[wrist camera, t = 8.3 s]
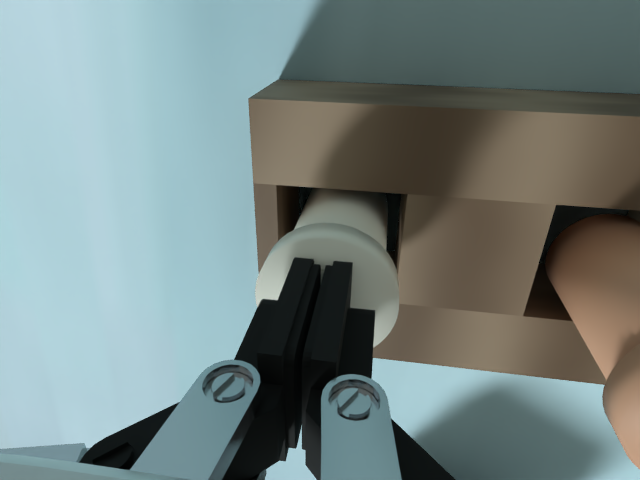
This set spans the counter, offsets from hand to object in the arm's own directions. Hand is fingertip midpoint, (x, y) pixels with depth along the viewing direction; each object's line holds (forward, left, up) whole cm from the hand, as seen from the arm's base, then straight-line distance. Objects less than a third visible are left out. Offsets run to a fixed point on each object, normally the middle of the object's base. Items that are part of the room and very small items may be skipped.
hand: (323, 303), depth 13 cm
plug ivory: (0, 0, -7) cm, 7 cm away
